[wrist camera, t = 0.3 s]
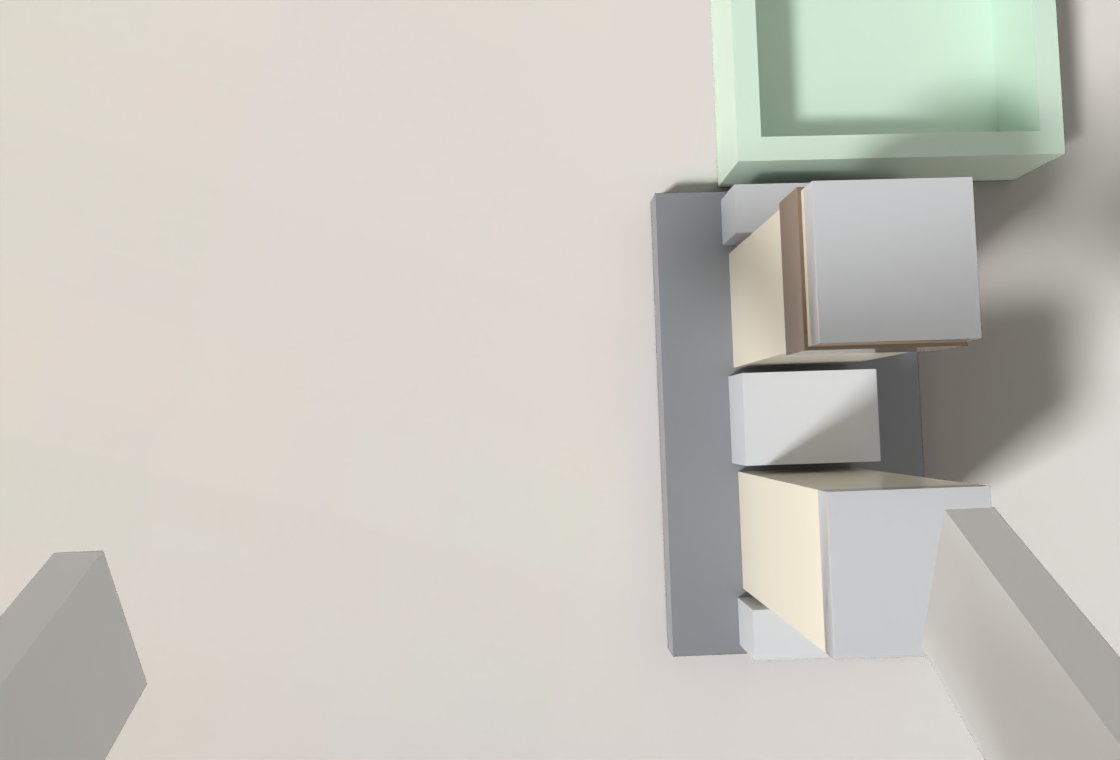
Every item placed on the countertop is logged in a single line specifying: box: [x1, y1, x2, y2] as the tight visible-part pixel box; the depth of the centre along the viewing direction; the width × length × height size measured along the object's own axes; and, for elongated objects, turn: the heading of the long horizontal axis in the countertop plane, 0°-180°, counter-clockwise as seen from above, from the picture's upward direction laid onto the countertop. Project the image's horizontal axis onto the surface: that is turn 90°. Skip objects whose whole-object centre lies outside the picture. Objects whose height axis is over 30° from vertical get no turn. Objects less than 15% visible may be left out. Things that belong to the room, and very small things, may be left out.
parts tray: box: [710, 0, 1065, 187], centre depth 31 cm, size 11×11×3 cm
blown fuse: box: [729, 177, 982, 368], centre depth 26 cm, size 4×4×9 cm
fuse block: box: [651, 183, 924, 661], centre depth 30 cm, size 16×9×3 cm, turn 2°
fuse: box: [738, 468, 991, 660], centre depth 25 cm, size 4×4×9 cm
